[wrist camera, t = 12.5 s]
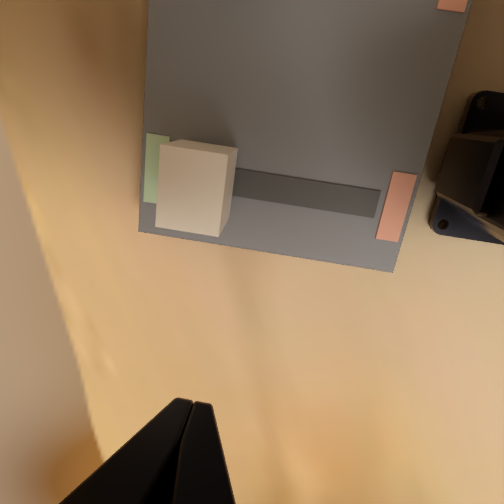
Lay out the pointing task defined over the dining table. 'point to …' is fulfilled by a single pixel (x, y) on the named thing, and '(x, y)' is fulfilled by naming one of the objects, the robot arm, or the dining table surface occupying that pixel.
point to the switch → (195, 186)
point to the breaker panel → (302, 115)
